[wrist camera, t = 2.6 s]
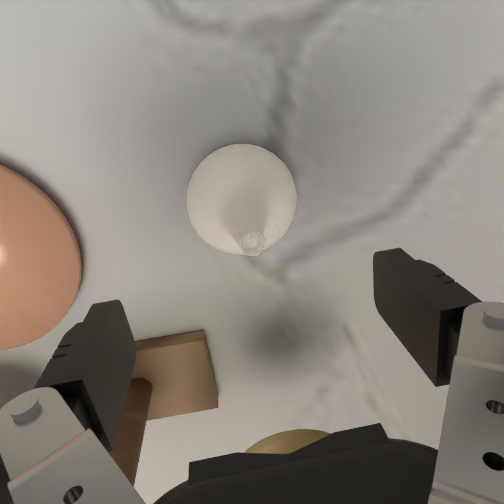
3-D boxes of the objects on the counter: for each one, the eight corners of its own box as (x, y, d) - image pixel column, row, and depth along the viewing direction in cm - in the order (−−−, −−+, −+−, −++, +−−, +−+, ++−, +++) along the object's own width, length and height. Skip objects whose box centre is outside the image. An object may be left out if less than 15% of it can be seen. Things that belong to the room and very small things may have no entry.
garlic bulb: (208, 125, 22) (187, 137, 14) (309, 161, 23) (339, 190, 15) (179, 225, 24) (148, 280, 17) (272, 255, 25) (283, 320, 17)
